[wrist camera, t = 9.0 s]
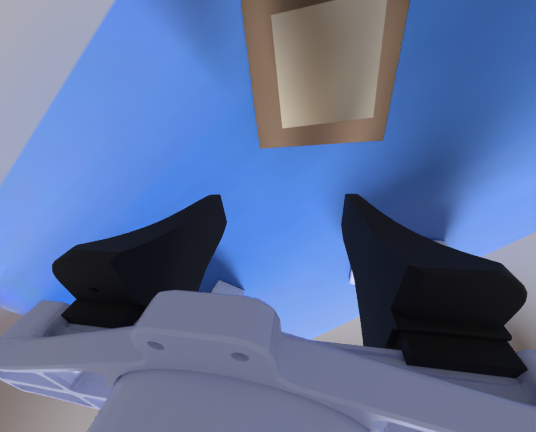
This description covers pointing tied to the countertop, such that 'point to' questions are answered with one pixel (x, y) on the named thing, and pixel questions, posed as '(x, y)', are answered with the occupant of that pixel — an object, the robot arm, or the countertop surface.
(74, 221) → the countertop surface
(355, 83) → the maple cube
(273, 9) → the walnut block
